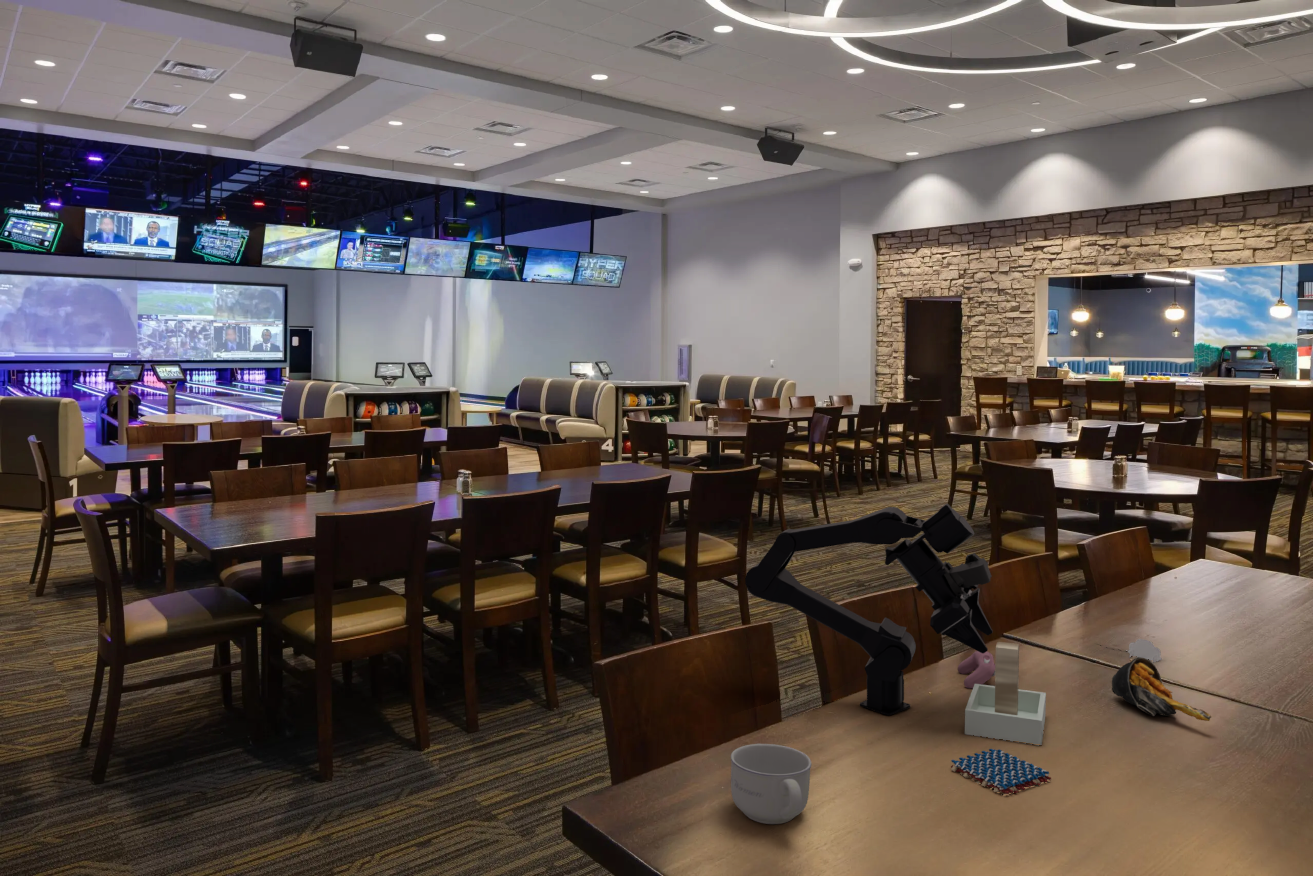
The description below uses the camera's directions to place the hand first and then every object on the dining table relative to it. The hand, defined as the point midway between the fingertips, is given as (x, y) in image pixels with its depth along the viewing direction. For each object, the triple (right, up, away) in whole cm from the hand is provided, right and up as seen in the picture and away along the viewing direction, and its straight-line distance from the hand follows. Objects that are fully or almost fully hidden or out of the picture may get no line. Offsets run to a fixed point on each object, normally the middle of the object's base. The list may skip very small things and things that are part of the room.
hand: (988, 642), depth 155 cm
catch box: (+2, -13, -1) cm, 14 cm away
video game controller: (+5, -12, +20) cm, 24 cm away
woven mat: (-6, -16, -20) cm, 26 cm away
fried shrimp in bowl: (+30, -13, +2) cm, 33 cm away
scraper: (+2, -13, -1) cm, 13 cm away
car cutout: (+41, -11, +35) cm, 55 cm away
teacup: (-41, -17, -32) cm, 54 cm away
